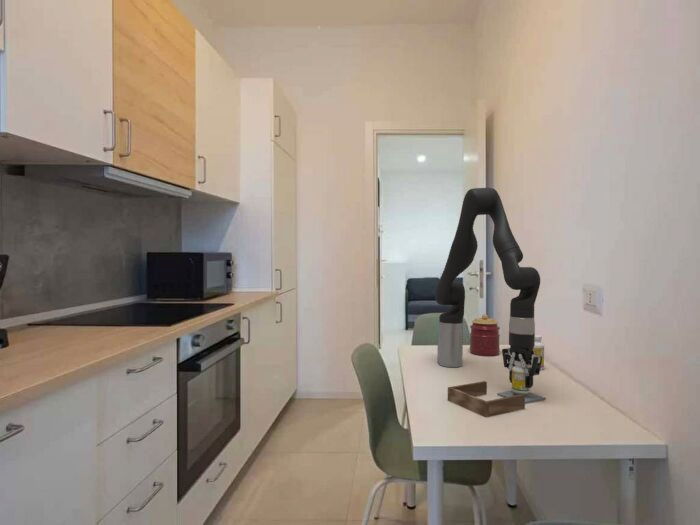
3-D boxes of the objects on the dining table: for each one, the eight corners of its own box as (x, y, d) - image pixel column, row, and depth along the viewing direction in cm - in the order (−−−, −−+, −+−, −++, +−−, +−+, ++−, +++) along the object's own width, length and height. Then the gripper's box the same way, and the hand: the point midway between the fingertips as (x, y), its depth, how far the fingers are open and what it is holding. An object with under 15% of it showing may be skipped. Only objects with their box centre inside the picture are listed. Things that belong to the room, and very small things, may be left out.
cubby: (447, 400, 139) (447, 387, 139) (484, 393, 146) (484, 381, 146) (486, 417, 125) (486, 402, 125) (524, 408, 132) (524, 395, 132)
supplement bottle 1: (526, 395, 139) (526, 363, 138) (508, 391, 142) (509, 360, 142) (532, 391, 143) (532, 360, 143) (515, 387, 146) (515, 357, 146)
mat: (497, 395, 144) (497, 393, 144) (519, 390, 149) (519, 388, 149) (522, 404, 136) (522, 402, 136) (545, 399, 140) (545, 397, 140)
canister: (495, 357, 196) (495, 316, 196) (465, 354, 203) (466, 314, 202) (502, 352, 207) (503, 313, 207) (474, 349, 214) (474, 311, 213)
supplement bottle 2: (522, 368, 179) (522, 335, 178) (530, 365, 183) (531, 333, 183) (538, 371, 174) (539, 337, 173) (547, 368, 178) (547, 335, 178)
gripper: (495, 328, 147) (494, 380, 147) (532, 336, 134) (531, 393, 134) (512, 326, 150) (511, 378, 150) (549, 334, 137) (548, 389, 138)
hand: (520, 384), depth 142 cm, fingers closed on supplement bottle 1, 5 cm apart
